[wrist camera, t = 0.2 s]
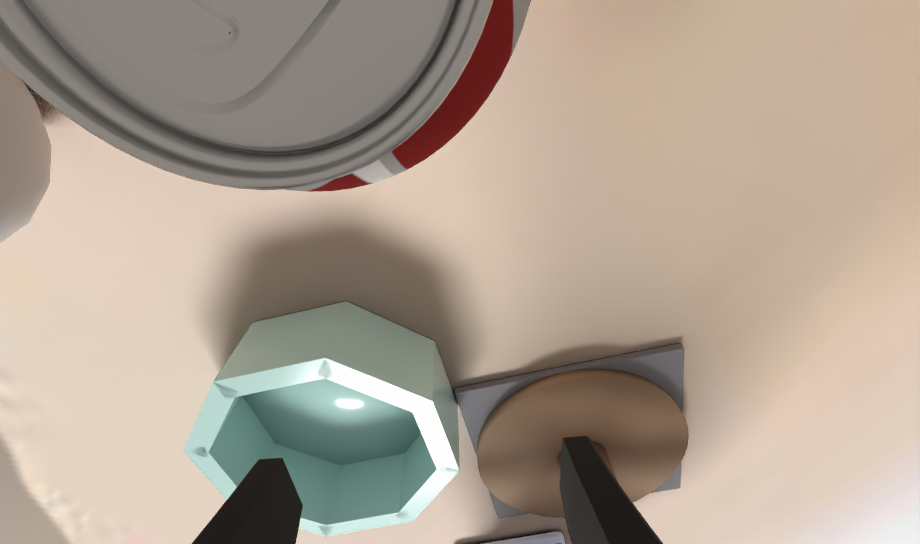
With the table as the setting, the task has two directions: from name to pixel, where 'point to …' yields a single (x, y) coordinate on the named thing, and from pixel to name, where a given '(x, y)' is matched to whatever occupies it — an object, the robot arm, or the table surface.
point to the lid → (580, 414)
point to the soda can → (266, 80)
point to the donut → (20, 154)
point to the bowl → (334, 417)
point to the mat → (649, 364)
